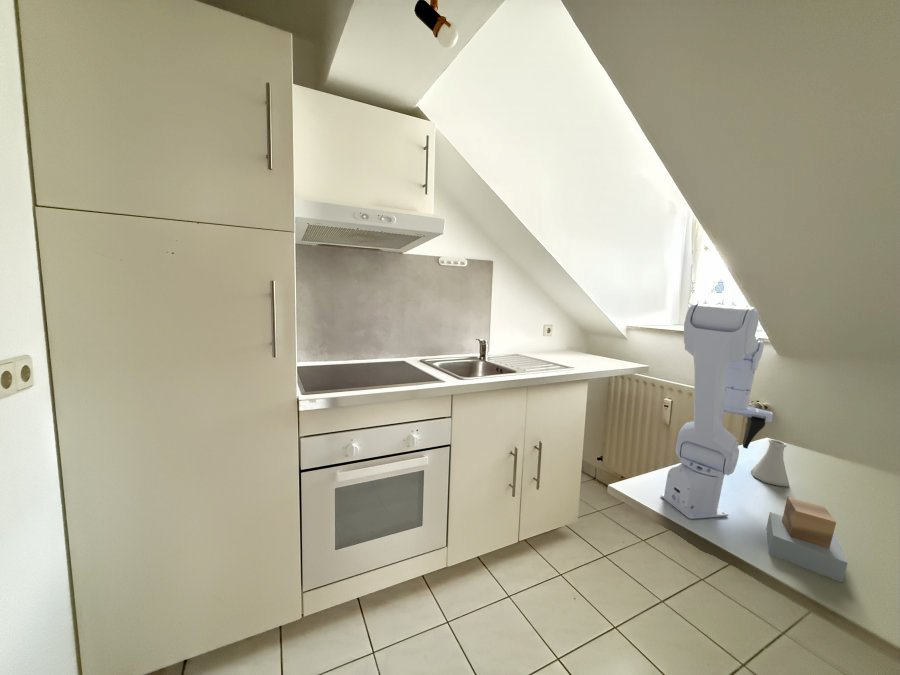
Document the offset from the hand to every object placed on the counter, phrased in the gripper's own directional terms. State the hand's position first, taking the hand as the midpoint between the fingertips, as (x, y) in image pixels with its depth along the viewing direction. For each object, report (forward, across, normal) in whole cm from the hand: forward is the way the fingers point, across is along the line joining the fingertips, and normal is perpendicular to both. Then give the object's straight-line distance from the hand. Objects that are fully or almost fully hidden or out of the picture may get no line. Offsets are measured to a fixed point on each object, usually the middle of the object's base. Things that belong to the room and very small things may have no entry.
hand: (724, 441), depth 85 cm
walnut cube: (+7, -11, +20) cm, 24 cm away
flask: (+11, -11, -11) cm, 19 cm away
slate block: (+11, -11, +20) cm, 25 cm away
